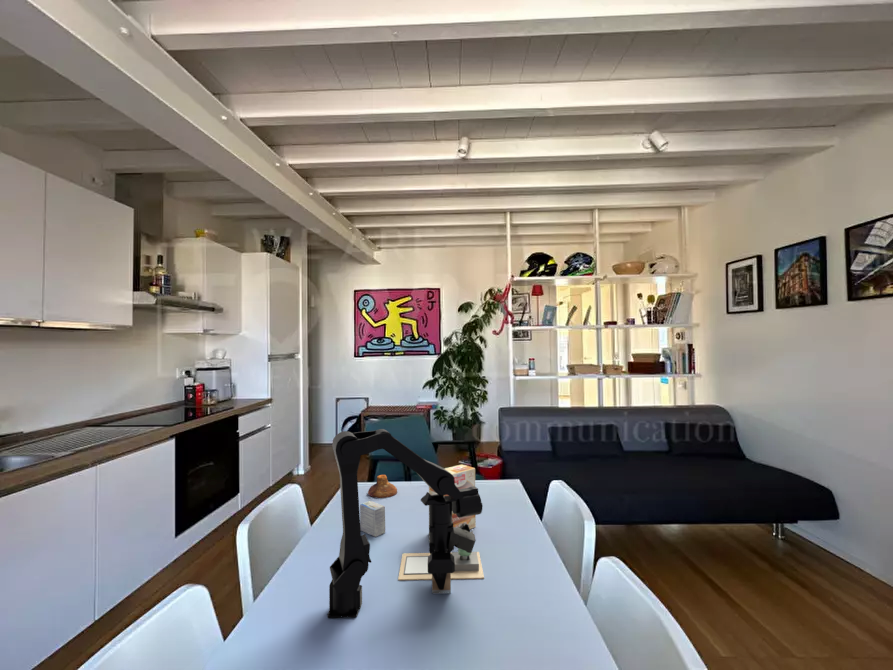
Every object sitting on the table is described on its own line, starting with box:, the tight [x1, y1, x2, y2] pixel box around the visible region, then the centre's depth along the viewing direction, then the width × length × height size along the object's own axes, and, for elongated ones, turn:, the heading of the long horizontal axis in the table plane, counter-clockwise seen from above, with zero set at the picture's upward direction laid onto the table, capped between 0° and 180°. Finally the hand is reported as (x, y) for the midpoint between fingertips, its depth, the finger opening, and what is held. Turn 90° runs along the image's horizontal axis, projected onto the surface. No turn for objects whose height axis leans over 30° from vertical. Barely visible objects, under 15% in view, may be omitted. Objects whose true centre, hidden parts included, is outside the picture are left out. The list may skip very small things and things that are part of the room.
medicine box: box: [359, 500, 386, 538], centre depth 140 cm, size 8×4×9 cm, turn 47°
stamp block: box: [431, 573, 452, 595], centre depth 107 cm, size 4×4×5 cm
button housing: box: [451, 551, 479, 571], centre depth 118 cm, size 7×7×2 cm
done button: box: [457, 548, 471, 560], centre depth 118 cm, size 4×4×4 cm
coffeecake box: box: [428, 464, 477, 530], centre depth 141 cm, size 15×7×20 cm, turn 131°
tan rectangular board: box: [397, 551, 485, 581], centre depth 118 cm, size 22×14×1 cm, turn 91°
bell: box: [367, 474, 398, 499], centre depth 178 cm, size 12×12×7 cm
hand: (441, 583), depth 107 cm, fingers closed on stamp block, 4 cm apart
